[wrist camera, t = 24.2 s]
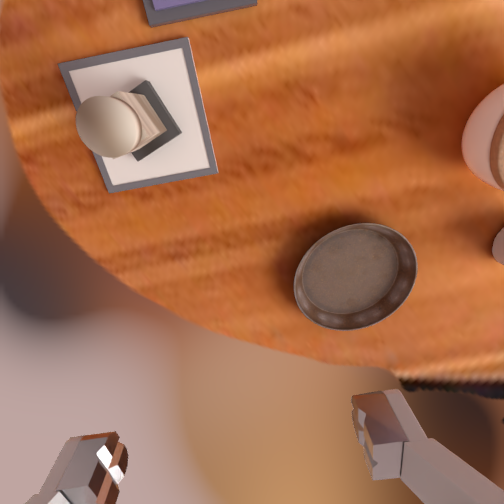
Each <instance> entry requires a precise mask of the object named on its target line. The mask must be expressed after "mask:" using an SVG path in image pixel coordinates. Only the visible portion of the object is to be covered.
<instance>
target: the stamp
mask: <svg viewBox="0 0 504 504" xmlns="http://www.w3.org/2000/svg"><path fill="white" fill-rule="evenodd" d="M76 127H77V131H78V134H79V136H80V138H81V139H82V141H83V142H84V144H85V145H86V146H87V147H88V148H89V149H90V150H92V151H93V152H95V153H96V154H98V155H100V156H103V157H108V158H113V159H116V158H118V157H121V156H123V155H126V154H128V153H132V155H133V156H134V157H135V159H136V160H137V162H138V161H140V160H142V159H143V158H145V157H146V156H148V155H149V154H151V153H153V152H154V151H156V150H157V149H159V148H160V147H162V146H163V145H165V144H166V143H168V142H169V141H171V140H172V139H174V138H175V137H177V136H178V135H180V134H181V133H182V131H181V130H180V128H179V127H178V125H177V124H176V122H175V120H174V119H173V117H172V116H171V114H170V113H169V111H168V110H167V108H166V106H165V105H164V103H163V102H162V100H161V99H160V97H159V95H158V94H157V92H156V91H155V89H154V88H153V86H152V85H151V83H150V81H147V80H145V81H143V82H142V83H141V84H139V85H138V86H137V87H135V88H134V89H132V90H131V91H130V92H121V91H117V92H115V93H114V94H112V95H111V96H110V97H107V96H94V97H90V98H88V99H86V100H85V101H84V102H83V103H82V104H81V105H80V106H79V108H78V111H77V114H76Z"/></svg>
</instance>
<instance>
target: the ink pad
mask: <svg viewBox="0 0 504 504" xmlns="http://www.w3.org/2000/svg"><path fill="white" fill-rule="evenodd" d="M143 3H144V7H145V10H146V14H147V18H148V22H149V25H150V26H151V27H156V26H161V25H166V24H171V23H175V22H180V21H185V20H190V19H195V18H199V17H204V16H209V15H214V14H218V13H223V12H228V11H233V10H238V9H242V8H247V7H252V6H257V0H143Z"/></svg>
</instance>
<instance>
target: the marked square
mask: <svg viewBox="0 0 504 504" xmlns="http://www.w3.org/2000/svg"><path fill="white" fill-rule="evenodd" d="M58 66H59V69H60V71H61V74H62V76H63V79H64V81H65V84H66V86H67V89H68V91H69V94H70V96H71V99H72V101H73V104H74V106H75V109H76V111H78V108H79V106H80V105H81V104H82V103H83V102H84V101H85V100H86V99H88V98H90V97H94V96H107V97H110V96H111V95H112V94H114V93H115V92H117V91H121V92H130V91H131V90H132V89H134V88H135V87H137V86H138V85H139V84H141V83H142V82H143V81H145V80H147V81H150V83H151V85H152V86H153V88H154V89H155V91H156V92H157V94H158V95H159V97H160V99H161V100H162V102H163V103H164V105H165V106H166V108H167V110H168V111H169V113H170V114H171V116H172V117H173V119H174V120H175V122H176V124H177V125H178V127H179V128H180V130H181V131H182V133H181V134H180V135H178V136H177V137H175V138H174V139H172V140H171V141H169V142H168V143H166V144H165V145H163V146H162V147H160V148H159V149H157V150H156V151H154V152H153V153H151V154H149V155H148V156H146V157H145V158H143V159H142V160H140V161H138V162H137V160H136V159H135V157H134V156H133V155H132V153H128V154H126V155H123V156H121V157H118V158H116V159H113V158H108V157H103V156H100V155H98V154H96V153H95V152H93V151H92V152H93V154H94V157H95V159H96V162H97V164H98V167H99V169H100V172H101V174H102V177H103V179H104V182H105V184H106V187H107V189H108V192H109V193H114V192H119V191H124V190H130V189H135V188H141V187H146V186H151V185H157V184H162V183H168V182H173V181H178V180H184V179H189V178H194V177H200V176H205V175H211V174H216V173H218V168H217V164H216V159H215V155H214V150H213V146H212V141H211V137H210V132H209V128H208V123H207V119H206V114H205V109H204V105H203V100H202V96H201V91H200V87H199V82H198V78H197V73H196V69H195V64H194V60H193V55H192V51H191V46H190V42H189V38H188V37H185V38H180V39H175V40H170V41H165V42H161V43H156V44H151V45H146V46H141V47H136V48H132V49H127V50H122V51H117V52H112V53H107V54H103V55H98V56H93V57H88V58H83V59H78V60H74V61H69V62H64V63H59V64H58Z"/></svg>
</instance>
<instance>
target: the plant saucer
mask: <svg viewBox="0 0 504 504" xmlns="http://www.w3.org/2000/svg"><path fill="white" fill-rule="evenodd" d="M416 277H417V258H416V254H415V251H414V249H413V247H412V246H411V244H410V242H409V241H408V240H407V239H406V238H405V237H404V236H403V235H402V234H401V233H399V232H398V231H396V230H394V229H392V228H390V227H387V226H384V225H381V224H375V223H358V224H352V225H348V226H345V227H341V228H339V229H336V230H334V231H332V232H330V233H328V234H327V235H325V236H323V237H322V238H321V239H319V240H318V241H317V242H316V243H315V244H313V245H312V246H311V248H310V249H309V250H308V251H307V252H306V254H305V255H304V256H303V258H302V260H301V261H300V263H299V265H298V268H297V270H296V273H295V278H294V295H295V299H296V302H297V304H298V307H299V308H300V310H301V311H302V313H303V314H304V315H305V316H306V317H307V318H308V319H309V320H311V321H312V322H314V323H315V324H317V325H319V326H321V327H324V328H327V329H332V330H339V331H350V330H358V329H362V328H366V327H369V326H372V325H374V324H376V323H379V322H380V321H382V320H384V319H386V318H387V317H389V316H390V315H391V314H393V313H394V312H395V311H396V310H397V309H398V308H399V307H400V306H401V305H402V304H403V303H404V302H405V300H406V299H407V297H408V296H409V294H410V293H411V291H412V289H413V286H414V284H415V280H416Z"/></svg>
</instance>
